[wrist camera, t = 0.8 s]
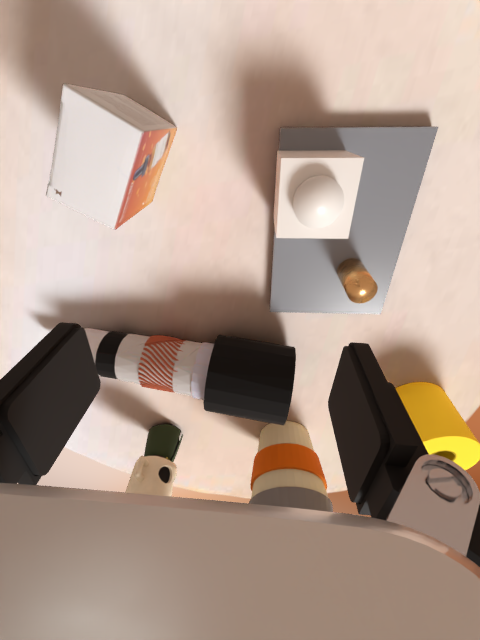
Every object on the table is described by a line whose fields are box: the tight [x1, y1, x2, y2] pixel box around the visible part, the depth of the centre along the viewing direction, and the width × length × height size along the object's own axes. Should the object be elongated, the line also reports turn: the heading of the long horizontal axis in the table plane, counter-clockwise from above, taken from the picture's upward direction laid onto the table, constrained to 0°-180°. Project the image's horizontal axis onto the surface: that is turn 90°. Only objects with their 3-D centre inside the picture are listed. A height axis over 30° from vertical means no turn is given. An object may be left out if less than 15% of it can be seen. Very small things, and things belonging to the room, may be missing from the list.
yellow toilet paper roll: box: [395, 382, 480, 470], centre depth 45 cm, size 10×10×9 cm
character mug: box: [125, 424, 183, 497], centre depth 51 cm, size 11×7×13 cm, turn 12°
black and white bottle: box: [84, 328, 296, 426], centre depth 41 cm, size 10×34×10 cm
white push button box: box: [274, 150, 364, 239], centre depth 27 cm, size 6×6×7 cm
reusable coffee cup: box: [249, 421, 333, 512], centre depth 49 cm, size 13×13×15 cm
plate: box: [270, 126, 438, 314], centre depth 33 cm, size 20×14×1 cm
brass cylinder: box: [337, 258, 378, 303], centre depth 33 cm, size 3×3×5 cm
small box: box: [46, 84, 177, 230], centre depth 26 cm, size 8×6×10 cm
